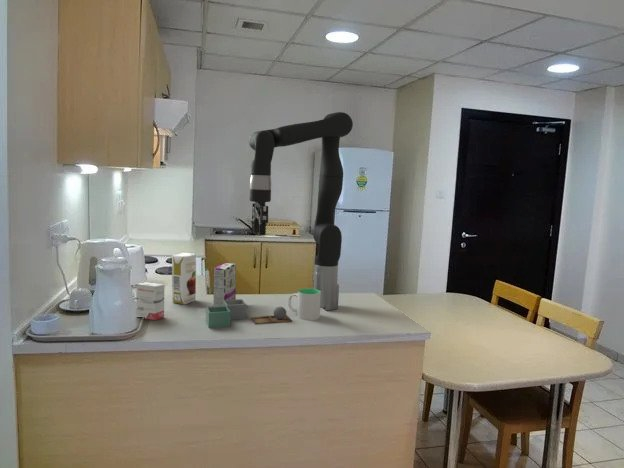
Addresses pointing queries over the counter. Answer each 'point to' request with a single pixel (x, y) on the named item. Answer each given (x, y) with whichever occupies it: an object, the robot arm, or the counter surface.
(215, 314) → the green open box
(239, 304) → the grey open box
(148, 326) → the counter surface
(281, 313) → the ball grey
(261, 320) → the rack
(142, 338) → the counter surface
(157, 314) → the ink box
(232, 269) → the candy bar box
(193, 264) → the juice carton
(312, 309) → the mug
